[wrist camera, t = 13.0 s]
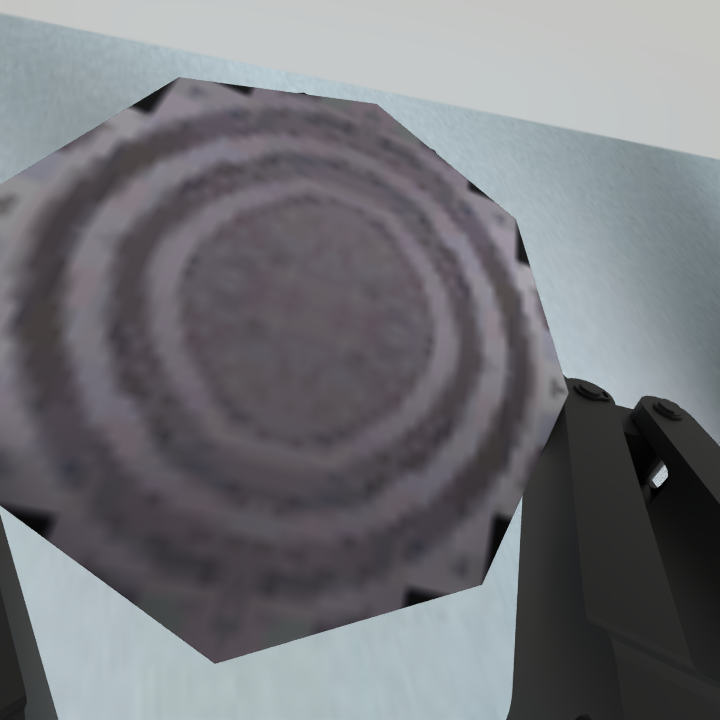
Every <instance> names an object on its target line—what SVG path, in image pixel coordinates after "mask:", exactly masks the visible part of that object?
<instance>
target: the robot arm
mask: <svg viewBox="0 0 720 720" xmlns="http://www.w3.org/2000/svg"><path fill="white" fill-rule="evenodd" d="M563 376H564V375H563ZM564 380H565V383H566V386H567V389H568V395H567V398H566V400H565V402H564V404H563V407H562V409H561V411H560V413H559V415H558V418H557V420H556V422H555V424H554V426H553V429H552V431H551V433H550V435H549V438H548V440H547V442H546V444H545V446H544V449H543V451H542V453H541V455H540V457H539V460H538V462H537V464H536V466H535V468H534V471H533V473H532V475H531V477H530V480H529V482H528V484H527V486H526V488H525V491H524V493H523V498H522V517H521V537H520V556H519V575H518V594H517V613H516V633H515V652H514V671H513V690H512V700H511V706H510V710H509V713H508V716H507V719H506V720H720V446H719V445H718V444H717V443H716V442H715V441H714V440H713V439H712V438H711V437H710V436H709V434H708V433H707V432H706V431H705V430H704V429H703V428H702V427H701V426H700V425H699V424H698V423H697V421H696V420H695V419H694V418H693V417H692V416H691V415H690V414H688V413H687V412H686V411H685V410H683V409H682V408H680V407H679V406H678V405H677V404H675V403H673V402H670V401H669V400H667V399H661V398H657V397H653V396H644V397H642V398H641V399H640V401H639V402H638V403H637V405H636V406H635V408H634V409H630V408H626V407H622V406H617V405H615V401H614V400H613V398H612V397H611V395H609V393H607V392H606V391H605V390H603V389H602V388H600V387H598V386H597V385H595V384H592V383H590V382H587V381H584V380H580V379H574V378H569V379H567V378H566V377H565V376H564ZM664 465H665V466H666V468H667V470H668V477H667V479H666V480H665V481H664V482H663V483H662V485H660V486H659V487H658V488H657V486H656V485H655V484H654V482H653V481H652V480H653V478H654V477H655V476H656V475H657V473H658V472H659V471H660V470H661V468H662V467H663V466H664ZM0 720H58V717H57V714H56V710H55V707H54V703H53V699H52V696H51V692H50V689H49V685H48V682H47V678H46V675H45V671H44V668H43V664H42V661H41V657H40V654H39V650H38V646H37V643H36V639H35V636H34V632H33V629H32V625H31V622H30V618H29V615H28V611H27V608H26V604H25V601H24V597H23V593H22V590H21V586H20V583H19V579H18V576H17V572H16V569H15V565H14V562H13V558H12V555H11V551H10V548H9V544H8V540H7V537H6V533H5V530H4V526H3V523H2V519H1V516H0Z"/></svg>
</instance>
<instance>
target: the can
mask: <svg viewBox="0 0 720 720" xmlns="http://www.w3.org/2000/svg"><path fill="white" fill-rule="evenodd" d="M567 395H568V389H567V386H566V383H565V380H564V376H563V373H562V370H561V366H560V363H559V360H558V356H557V353H556V350H555V347H554V343H553V340H552V337H551V333H550V330H549V327H548V324H547V320H546V317H545V314H544V310H543V307H542V304H541V300H540V297H539V294H538V291H537V287H536V284H535V281H534V277H533V274H532V271H531V268H530V264H529V261H528V258H527V254H526V251H525V248H524V244H523V241H522V238H521V235H520V231H519V228H518V225H517V221H516V219H515V218H514V217H512V216H511V215H510V214H509V213H508V212H506V211H505V210H504V209H503V208H501V207H500V206H499V205H498V204H497V203H495V202H494V201H493V200H492V199H491V198H489V197H488V196H487V195H486V194H485V193H483V192H482V191H481V190H480V189H479V188H477V187H476V186H475V185H474V184H472V183H471V182H470V181H469V180H468V179H466V178H465V177H464V176H463V175H462V174H460V173H459V172H458V171H457V170H456V169H454V168H453V167H452V166H451V165H450V164H448V163H447V162H446V161H445V160H444V159H442V158H441V157H440V156H439V155H438V154H437V153H436V152H435V151H434V150H433V149H430V148H429V147H428V146H427V145H425V144H424V143H423V142H422V141H421V140H419V139H418V138H417V137H416V136H415V135H413V134H412V133H411V132H410V131H409V130H407V129H406V128H405V127H404V126H402V125H401V124H400V123H399V122H398V121H396V120H395V119H394V118H393V117H392V116H390V115H389V114H388V113H387V112H386V111H384V110H383V109H382V108H381V107H380V106H378V105H377V104H373V103H365V102H358V101H350V100H343V99H336V98H328V97H321V96H313V95H308V94H305V93H291V92H284V91H276V90H269V89H262V88H254V87H247V86H239V85H232V84H225V83H217V82H210V81H202V80H195V79H188V78H180V77H179V78H177V79H175V80H174V81H172V82H170V83H169V84H167V85H165V86H164V87H162V88H160V89H159V90H157V91H155V92H154V93H152V94H150V95H149V96H147V97H145V98H144V99H142V100H140V101H139V102H137V103H135V104H134V105H132V106H130V107H129V108H127V109H126V110H124V111H122V112H121V113H119V114H117V115H116V116H114V117H112V118H111V119H109V120H107V121H106V122H104V123H102V124H101V125H99V126H97V127H96V128H94V129H92V130H91V131H89V132H87V133H86V134H84V135H82V136H81V137H79V138H77V139H76V140H74V141H72V142H71V143H69V144H67V145H66V146H64V147H62V148H61V149H59V150H57V151H56V152H54V153H52V154H51V155H49V156H47V157H46V158H44V159H42V160H41V161H39V162H37V163H36V164H34V165H32V166H31V167H29V168H27V169H26V170H24V171H22V172H21V173H19V174H17V175H16V176H14V177H12V178H11V179H9V180H7V181H6V182H4V183H2V184H1V185H0V506H2V507H3V508H4V509H6V510H7V511H8V512H10V513H11V514H12V515H14V516H15V517H16V518H18V519H19V520H21V521H22V522H23V523H25V524H26V525H27V526H29V527H30V528H31V529H33V530H34V531H35V532H37V533H38V534H40V535H41V536H42V537H44V538H45V539H46V540H48V541H49V542H50V543H52V544H53V545H54V546H56V547H57V548H58V549H60V550H61V551H63V552H64V553H65V554H67V555H68V556H69V557H71V558H72V559H73V560H75V561H76V562H77V563H79V564H80V565H82V566H83V567H84V568H86V569H87V570H88V571H90V572H91V573H92V574H94V575H95V576H96V577H98V578H99V579H101V580H102V581H103V582H105V583H106V584H107V585H109V586H110V587H111V588H113V589H114V590H115V591H117V592H118V593H120V594H121V595H122V596H124V597H125V598H126V599H128V600H129V601H130V602H132V603H133V604H134V605H136V606H137V607H139V608H140V609H141V610H143V611H144V612H145V613H147V614H148V615H149V616H151V617H152V618H153V619H155V620H156V621H158V622H159V623H160V624H162V625H163V626H164V627H166V628H167V629H168V630H170V631H171V632H172V633H174V634H175V635H177V636H178V637H179V638H181V639H182V640H183V641H185V642H186V643H187V644H189V645H190V646H191V647H193V648H194V649H196V650H197V651H198V652H200V653H201V654H202V655H204V656H205V657H206V658H208V659H209V660H210V661H212V662H213V663H215V664H216V663H219V662H223V661H226V660H229V659H233V658H236V657H239V656H243V655H246V654H250V653H253V652H256V651H260V650H263V649H266V648H270V647H273V646H277V645H280V644H283V643H287V642H290V641H293V640H297V639H300V638H304V637H307V636H310V635H314V634H317V633H320V632H324V631H327V630H331V629H334V628H337V627H341V626H344V625H347V624H351V623H354V622H358V621H361V620H364V619H368V618H371V617H374V616H378V615H381V614H385V613H388V612H391V611H395V610H398V609H402V608H405V607H408V606H412V605H415V604H418V603H422V602H425V601H429V600H432V599H435V598H439V597H442V596H445V595H449V594H452V593H456V592H459V591H462V590H466V589H469V588H472V587H476V586H479V585H482V583H483V581H484V579H485V577H486V575H487V572H488V570H489V568H490V566H491V564H492V561H493V559H494V557H495V555H496V553H497V550H498V548H499V546H500V544H501V541H502V539H503V537H504V535H505V533H506V530H507V528H508V526H509V524H510V522H511V519H512V517H513V515H514V513H515V510H516V508H517V506H518V504H519V502H520V499H521V497H522V495H523V493H524V491H525V488H526V486H527V484H528V482H529V480H530V477H531V475H532V473H533V471H534V468H535V466H536V464H537V462H538V460H539V457H540V455H541V453H542V451H543V449H544V446H545V444H546V442H547V440H548V438H549V435H550V433H551V431H552V429H553V426H554V424H555V422H556V420H557V418H558V415H559V413H560V411H561V409H562V407H563V404H564V402H565V400H566V398H567Z"/></svg>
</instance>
